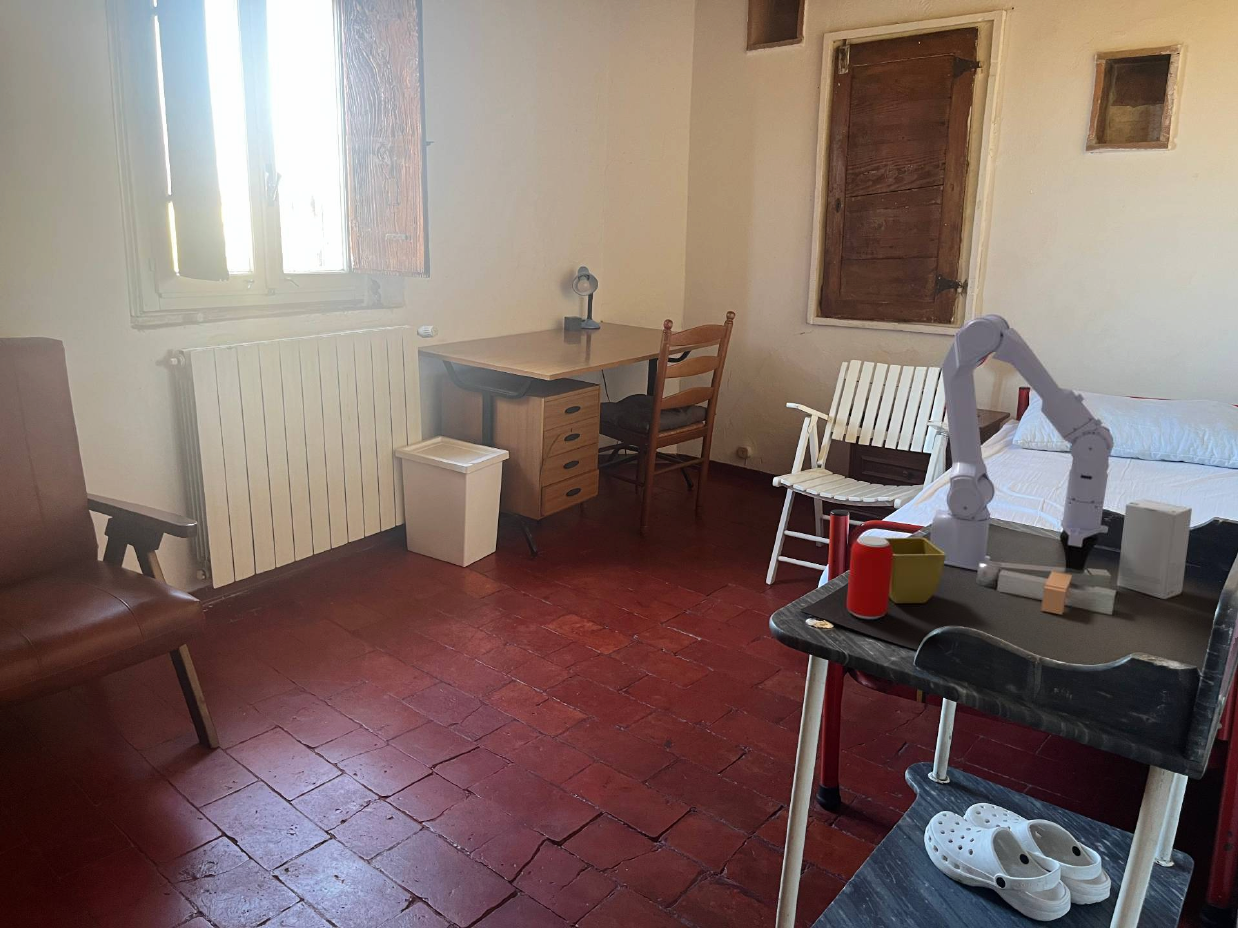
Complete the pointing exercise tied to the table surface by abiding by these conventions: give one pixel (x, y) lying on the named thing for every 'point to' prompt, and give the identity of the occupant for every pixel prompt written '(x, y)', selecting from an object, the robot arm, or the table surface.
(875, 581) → the beverage can
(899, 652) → the table surface
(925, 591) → the flower pot
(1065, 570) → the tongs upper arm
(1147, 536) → the skincare box
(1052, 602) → the block
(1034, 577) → the tongs lower arm
